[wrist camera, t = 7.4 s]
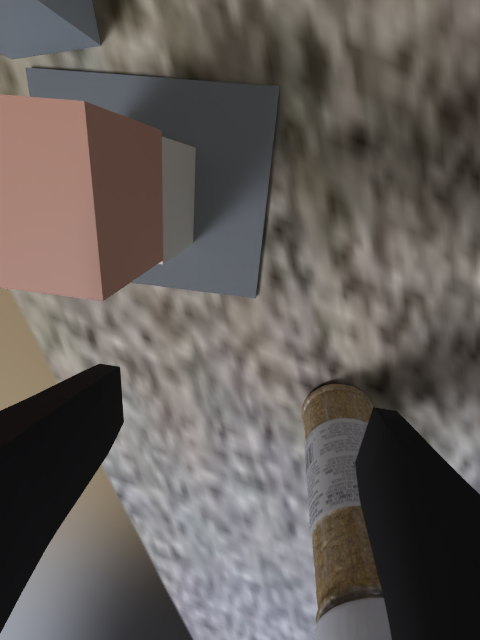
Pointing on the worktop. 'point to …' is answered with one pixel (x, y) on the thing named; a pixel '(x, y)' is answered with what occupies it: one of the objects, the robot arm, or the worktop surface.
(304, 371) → the worktop surface
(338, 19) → the worktop surface
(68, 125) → the terracotta brick
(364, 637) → the sprinkles bottle
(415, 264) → the worktop surface
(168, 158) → the cream brick
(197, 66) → the worktop surface
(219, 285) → the mat
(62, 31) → the slate brick
